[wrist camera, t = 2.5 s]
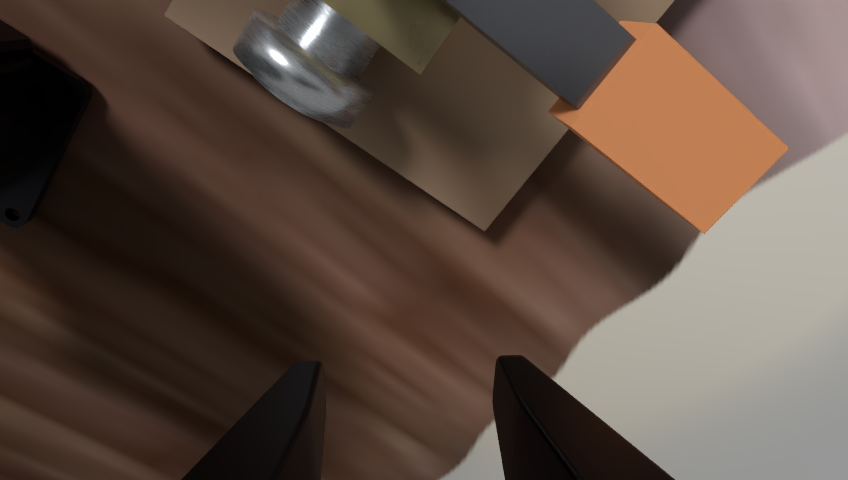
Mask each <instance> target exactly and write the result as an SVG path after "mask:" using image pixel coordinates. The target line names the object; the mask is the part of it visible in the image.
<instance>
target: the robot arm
mask: <svg viewBox="0 0 848 480" xmlns="http://www.w3.org/2000/svg"><path fill="white" fill-rule="evenodd" d="M69 84H72V85H74V86H75V87H76V88H77V90H78V96H77V97H76V96H73V95H72V94H71V93H70V91H69V89H68V88H69ZM91 94H92V92H91V87H90V85H89V84H88V82H87V81H86V80H85V79H83V78H82V77H81V76H79V75H77V74H76V73H74V72H72V71H71V70H69V69H68V68H66V67H64V66H63V65H61V64H59V63H58V62H56V61H54V60H53V59H51V58H49V57H48V56H46V55H44V54H43V53H41V52H40V51H38V50H36V49H35V48H34V45H33V44H32V42H31V40H30V39H29V37H27V36H26V35H24V34H22V33H21V32H19V31H18V30H16V29H14V28H13V27H11V26H9V25H8V24H6V23H4V22H3V21H1V20H0V221H1V222H3V223H5V224H7V225H9V226H12V227H19V226H22V225H24V224H26V223H27V222H29V221H30V220H31V219H32V218H33V216H34V214H35V212H36V210H37V207H38V205H39V203H40V201H41V199H42V197H43V195H44V193H45V191H46V189H47V187H48V185H49V183H50V181H51V179H52V177H53V174H54V172H55V170H56V168H57V166H58V164H59V162H60V160H61V158H62V156H63V154H64V152H65V150H66V148H67V146H68V144H69V142H70V139H71V137H72V135H73V133H74V131H75V129H76V127H77V125H78V123H79V121H80V119H81V117H82V115H83V113H84V111H85V109H86V107H87V104H88V102H89V100H90V98H91ZM12 209H15V210H16V211H18V213H19V215H20V217H18V216H16V215H15V214H13V212H12ZM493 410H494V416H495V422H496V428H497V433H498V440H499V445H500V452H501V458H502V464H503V470H504V476H505V480H675V479H674V478H672V477H671V476H670V475H669V474H667V473H666V472H665V471H664V470H662V469H661V468H660V467H659V466H658V465H656V464H655V463H654V462H653V461H651V460H650V459H649V458H648V457H647V456H645V455H644V454H643V453H642V452H640V451H639V450H638V449H637V448H636V447H634V446H633V445H632V444H631V443H629V442H628V441H627V440H626V439H624V438H623V437H622V436H621V435H620V434H618V433H617V432H616V431H615V430H613V429H612V428H611V427H610V426H608V425H607V424H606V423H605V422H604V421H602V420H601V419H600V418H599V417H597V416H596V415H595V414H594V413H593V412H591V411H590V410H589V409H588V408H586V407H585V406H584V405H583V404H581V403H580V402H579V401H578V400H577V399H575V398H574V397H573V396H572V395H570V394H569V393H568V392H567V391H566V390H564V389H563V388H562V387H561V386H559V385H558V384H557V383H556V382H555V381H553V380H552V379H551V378H550V377H548V376H547V375H546V374H545V373H543V372H542V371H541V370H540V369H539V368H537V367H536V366H535V365H534V364H532V363H531V362H530V361H529V360H527V359H526V358H525V357H523V356H521V355H506V356H499V357H498V358H497V361H496V366H495V377H494V387H493ZM325 417H326V397H325V383H324V369H323V364H322V362H321V361H297V362H296V363H294V364H293V365H292V366H291V367H290V368H289V369H288V370H287V371H286V372H285V373H284V374H283V376H282V377H281V378H280V379H279V380H278V381H277V382H276V383H275V384H274V385H273V386H272V387H271V388H270V389H269V390H268V391H267V392H266V393H265V394H264V395H263V396H262V397H261V398H260V399H259V400H258V401H257V402H256V403H255V404H254V405H253V406H252V407H251V408H250V409H249V410H248V412H247V413H246V414H245V415H244V416H243V417H242V418H241V419H240V420H239V421H238V422H237V423H236V424H235V425H234V426H233V427H232V428H231V429H230V430H229V431H228V432H227V433H226V434H225V435H224V436H223V437H222V438H221V439H220V440H219V441H218V442H217V443H216V444H215V445H214V446H213V447H212V449H211V450H210V451H209V452H208V453H207V454H206V455H205V456H204V457H203V458H202V459H201V460H200V461H199V462H198V463H197V464H196V465H195V466H194V467H193V468H192V469H191V470H190V471H189V472H188V473H187V474H186V475H185V476H184V477H183V478H182V479H181V480H321V468H322V456H323V443H324V430H325Z"/></svg>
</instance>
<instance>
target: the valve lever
mask: <svg viewBox="0 0 848 480" xmlns="http://www.w3.org/2000/svg"><path fill="white" fill-rule="evenodd" d="M440 1H441V2H442V3H443V4H445V5H446V6H447V7H448V8H450V9H451V10H452V11H453V12H454V13H456V14H457V15H458V16H459V17H461V18H462V19H463V20H464V21H465V22H467V23H468V24H469V25H470V26H472V27H473V28H474V29H475V30H476V31H478V32H479V33H480V34H481V35H483V36H484V37H485V38H486V39H488V40H489V41H490V42H491V43H492V44H494V45H495V46H496V47H497V48H499V49H500V50H501V51H502V52H503V53H505V54H506V55H507V56H508V57H510V58H511V59H512V60H513V61H514V62H516V63H517V64H518V65H519V66H521V67H522V68H523V69H524V70H526V71H527V72H528V73H529V74H530V75H532V76H533V77H534V78H535V79H537V80H538V81H539V82H540V83H541V84H543V85H544V86H545V87H546V88H548V89H549V90H550V91H551V92H552V93H554V94H555V95H556V96H557V97H559V98H558V100H557V101H556V102H555V103H554V105H553V106H552V107H551V108H550V110H549V111H548V112H549V113H550V114H551V115H552V116H554V117H555V118H556V119H558V120H559V121H560V122H561V123H563V124H564V125H565V126H566V127H568V128H569V129H570V130H571V131H573V132H574V133H575V134H576V135H578V136H579V137H580V138H581V139H583V140H584V141H585V142H586V143H588V144H589V145H590V146H591V147H593V148H594V149H595V150H596V151H598V152H599V153H600V154H601V155H603V156H604V157H605V158H606V159H608V160H609V161H610V162H611V163H613V164H614V165H615V166H616V167H618V168H619V169H620V170H621V171H623V172H624V173H625V174H626V175H628V176H629V177H630V178H631V179H633V180H634V181H635V182H636V183H638V184H639V185H640V186H641V187H643V188H644V189H645V190H646V191H648V192H649V193H650V194H651V195H653V196H654V197H655V198H656V199H658V200H659V201H660V202H661V203H663V204H664V205H665V206H666V207H668V208H669V209H670V210H672V211H673V212H675V213H676V214H677V215H679V216H680V217H682V218H683V219H684V220H686V221H687V222H689V223H690V224H691V225H693V226H694V227H696V228H697V229H698V230H700V231H701V232H703V233H704V234H705V233H706V232H707V231H708V230H709V229H710V228H711V227H712V226H713V225H714V224H715V223H716V222H717V221H718V220H719V218H721V217H722V216H723V215H724V214H725V213H726V212H727V211H728V210H729V208H730V207H731V206H732V205H733V204H734V203H735V202H736V201H737V200H738V199H739V198H740V197H741V196H742V195H743V194H744V193H745V192H746V191H747V190H748V189H749V188H750V187H751V186H752V185H753V184H754V183H755V182H756V181H757V180H758V179H759V178H760V177H761V176H762V175H763V174H764V173H765V172H766V171H767V170H768V169H769V168H770V167H771V166H772V165H773V164H774V163H775V162H776V161H777V160H778V159H779V158H780V157H781V156H782V155H783V154H784V153H785V152H786V151H787V150H788V149H789V148H788V147H787V146H786V145H785V144H784V143H783V142H782V141H781V140H780V139H779V138H778V137H777V136H776V135H774V134H773V133H772V132H771V131H770V130H769V129H768V128H767V127H766V126H765V125H764V124H763V123H762V122H761V121H760V120H759V119H758V118H757V117H755V116H754V115H753V114H752V113H751V112H750V111H749V110H748V109H747V108H746V107H745V106H744V105H743V104H742V103H741V102H740V101H739V100H737V99H736V98H735V97H734V96H733V95H732V94H731V93H730V92H729V91H728V90H727V89H726V88H725V87H724V86H723V85H722V84H721V83H720V82H718V81H717V80H716V79H715V78H714V77H713V76H712V75H711V74H710V73H709V72H708V71H707V70H706V69H705V68H704V67H703V66H702V65H700V64H699V63H698V62H697V61H696V60H695V59H694V58H693V57H692V56H691V55H690V54H689V53H688V52H687V51H686V50H685V49H684V48H683V47H681V46H680V45H679V44H678V43H677V42H676V41H675V40H674V39H673V38H672V37H671V36H670V35H669V34H668V33H667V32H666V31H665V30H663V29H662V28H661V27H660V26H659V25H658V24H657V23H646V22H632V21H620V22H619V23H618V22H617V21H616V20H615V19H614V18H613V17H612V16H611V15H610V14H608V13H607V12H606V11H605V10H604V9H603V8H602V7H601V6H600V5H599V4H598V3H596V2H595V1H594V0H440Z"/></svg>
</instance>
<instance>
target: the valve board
mask: <svg viewBox="0 0 848 480" xmlns="http://www.w3.org/2000/svg"><path fill="white" fill-rule="evenodd" d="M594 1H595V2H596V3H598V4H599V5H600V6H601V7H602V8H603V9H604V10H605V11H606V12H607V13H608V14H610V15H611V16H612V17H613V18H614V19H615V20H616V21H617V22H618V23H619V22H620V21H632V22H646V23H656V22H657V21H658V20H659V19H660V17H661V16H662V15H663V14H664V12H665V11H666V10H667V9H668V8H669V6H670V5H671V4H672V3H673V1H674V0H594ZM164 16H166V17H167V18H169V19H170V20H172V21H173V22H175V23H176V24H178V25H179V26H181V27H182V28H184V29H185V30H187V31H188V32H190V33H191V34H193V35H194V36H195V37H197V38H198V39H200V40H201V41H203V42H204V43H206V44H207V45H209V46H210V47H212V48H213V49H215V50H216V51H218V52H219V53H221V54H222V55H224V56H225V57H227V58H228V59H230V60H231V61H233V62H234V63H236V64H237V65H239V66H240V67H241V68H243V69H244V70H246V71H247V72H249V73H250V74H252V75H253V76H254V78H255V79H256V80H257V81H258V82H259V83H260V84H261V85H262V86H263V87H264V88H266V89H267V90H268V91H269V92H270V93H272V94H273V95H274V96H276V97H277V98H278V99H280V100H281V101H283V102H284V103H286V104H287V105H289V106H290V107H292V108H293V109H295V110H297V111H299V112H300V113H302V114H304V115H306V116H308V117H310V118H312V119H315V120H317V121H320V122H323V123H325V124H326V125H328V126H329V127H331V128H332V129H333V130H335V131H336V132H338V133H339V134H341V135H342V136H344V137H345V138H347V139H348V140H350V141H351V142H353V143H354V144H356V145H357V146H359V147H360V148H362V149H363V150H365V151H366V152H368V153H369V154H371V155H372V156H374V157H375V158H377V159H378V160H379V161H381V162H382V163H384V164H385V165H387V166H388V167H390V168H391V169H393V170H394V171H396V172H397V173H399V174H400V175H402V176H403V177H405V178H406V179H408V180H409V181H411V182H412V183H414V184H415V185H417V186H418V187H420V188H421V189H423V190H424V191H425V192H427V193H428V194H430V195H431V196H433V197H434V198H436V199H437V200H439V201H440V202H442V203H443V204H445V205H446V206H448V207H449V208H451V209H452V210H454V211H455V212H457V213H458V214H460V215H461V216H463V217H464V218H466V219H467V220H469V221H470V222H471V223H473V224H474V225H476V226H477V227H479V228H480V229H482V230H483V231H485V230H486V229H487V228H488V227H489V225H490V224H491V223H492V222H493V220H494V219H495V218H496V217H497V216H498V214H499V213H500V212H501V211H502V210H503V208H504V207H505V206H506V205H507V203H508V202H509V201H510V200H511V199H512V197H513V196H514V195H515V194H516V193H517V191H518V190H519V189H520V188H521V186H522V185H523V184H524V183H525V182H526V180H527V179H528V178H529V177H530V175H531V174H532V173H533V172H534V171H535V169H536V168H537V167H538V166H539V165H540V163H541V162H542V161H543V160H544V158H545V157H546V156H547V155H548V154H549V152H550V151H551V150H552V149H553V147H554V146H555V145H556V144H557V143H558V141H559V140H560V139H561V138H562V137H563V135H564V134H565V133H566V132H567V130H568V129H569V128H568V127H566V126H565V125H564V124H563V123H561V122H560V121H559V120H558V119H556V118H555V117H554V116H552V115H551V114H550V113H549V112H548V111H549V110H550V108H551V107H552V106H553V105H554V103H555V102H556V101H557V100H558V98H559V97H557V96H556V95H555V94H554V93H552V92H551V91H550V90H549V89H548V88H546V87H545V86H544V85H543V84H541V83H540V82H539V81H538V80H537V79H535V78H534V77H533V76H532V75H530V74H529V73H528V72H527V71H526V70H524V69H523V68H522V67H521V66H519V65H518V64H517V63H516V62H514V61H513V60H512V59H511V58H510V57H508V56H507V55H506V54H505V53H503V52H502V51H501V50H500V49H499V48H497V47H496V46H495V45H494V44H492V43H491V42H490V41H489V40H488V39H486V38H485V37H484V36H483V35H481V34H480V33H479V32H478V31H476V30H475V29H474V28H473V27H472V26H470V25H469V24H468V23H467V22H465V21H464V20H463V19H462V18H461V17H459V16H458V15H457V14H456V13H454V12H453V11H452V10H451V9H450V8H448V7H447V6H446V5H445V4H443V3H442V2H441V1H440V0H172V1H171V3H170V5H169V7H168V9H167V11H166V13H165V15H164Z"/></svg>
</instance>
